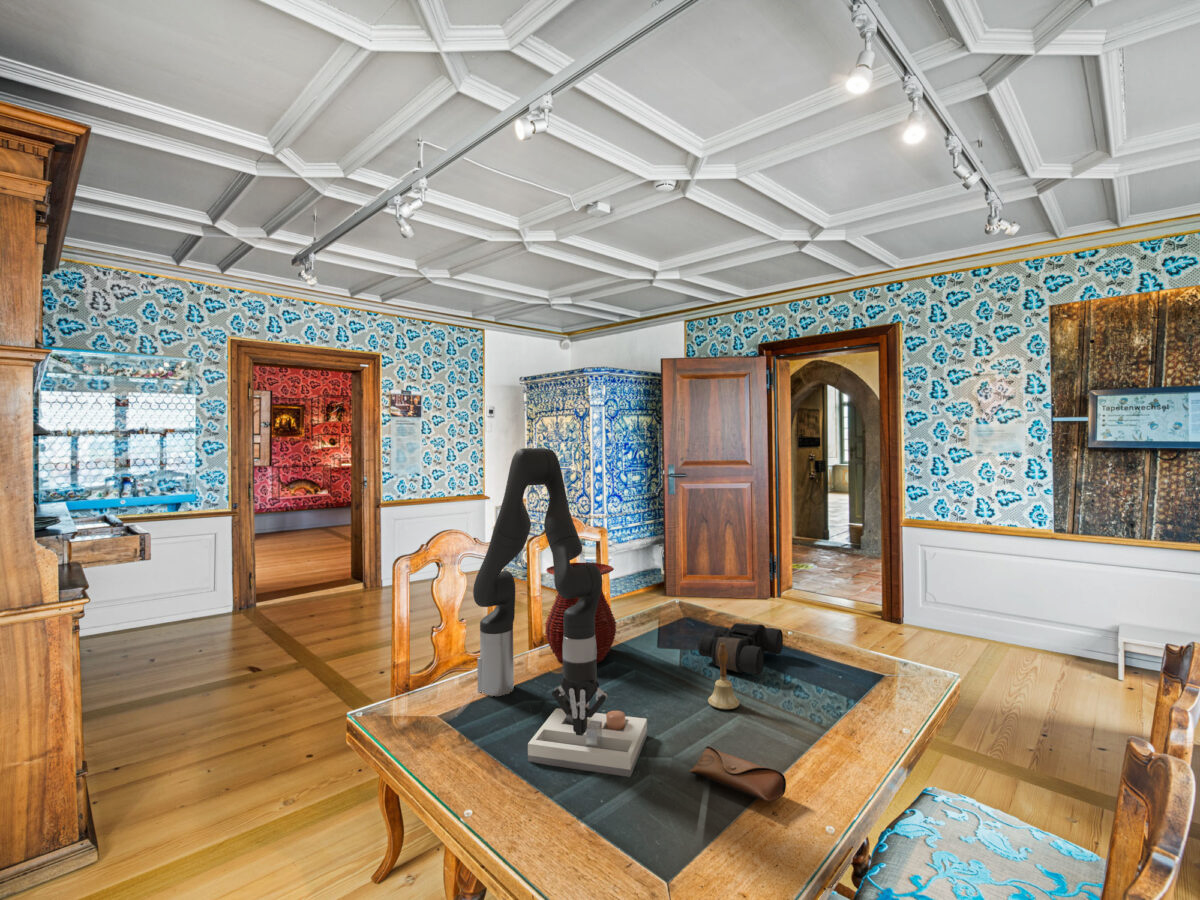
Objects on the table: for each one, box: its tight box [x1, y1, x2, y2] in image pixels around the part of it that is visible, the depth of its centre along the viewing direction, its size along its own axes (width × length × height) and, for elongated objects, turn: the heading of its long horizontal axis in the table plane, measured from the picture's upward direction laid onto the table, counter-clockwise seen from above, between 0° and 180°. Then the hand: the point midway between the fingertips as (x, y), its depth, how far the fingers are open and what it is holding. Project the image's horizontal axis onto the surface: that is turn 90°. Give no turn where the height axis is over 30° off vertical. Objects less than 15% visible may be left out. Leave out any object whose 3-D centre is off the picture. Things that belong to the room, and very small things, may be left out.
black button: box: [566, 715, 573, 725], centre depth 136 cm, size 4×4×3 cm
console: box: [527, 708, 648, 778], centre depth 130 cm, size 23×18×4 cm
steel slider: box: [586, 720, 602, 749], centre depth 125 cm, size 2×4×6 cm, turn 164°
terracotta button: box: [605, 710, 626, 730], centre depth 133 cm, size 4×4×3 cm
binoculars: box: [697, 622, 784, 676], centre depth 184 cm, size 29×20×10 cm
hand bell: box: [707, 643, 740, 710], centre depth 153 cm, size 8×8×16 cm
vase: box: [544, 562, 618, 664], centre depth 186 cm, size 23×24×30 cm
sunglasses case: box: [688, 746, 787, 803], centre depth 115 cm, size 18×7×7 cm
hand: (580, 733), depth 125 cm, fingers closed
